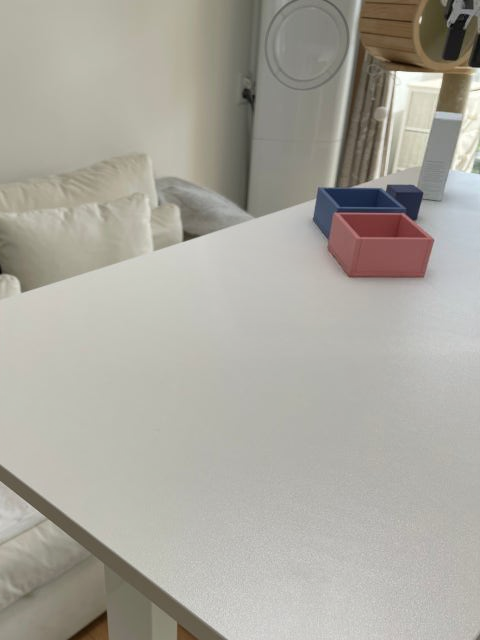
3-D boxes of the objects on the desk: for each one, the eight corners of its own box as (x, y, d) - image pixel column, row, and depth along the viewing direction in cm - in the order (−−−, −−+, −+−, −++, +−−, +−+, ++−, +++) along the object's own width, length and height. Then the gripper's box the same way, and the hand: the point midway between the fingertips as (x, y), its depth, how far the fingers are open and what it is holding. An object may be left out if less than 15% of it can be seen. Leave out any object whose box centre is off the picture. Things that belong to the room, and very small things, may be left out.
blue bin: (374, 220, 95) (381, 187, 92) (398, 243, 87) (406, 208, 84) (312, 219, 94) (318, 187, 92) (330, 243, 86) (337, 208, 84)
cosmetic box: (415, 188, 109) (435, 110, 102) (442, 192, 108) (464, 113, 101) (413, 198, 105) (433, 117, 98) (441, 201, 103) (463, 120, 96)
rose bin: (395, 248, 85) (404, 213, 83) (424, 277, 77) (434, 239, 75) (327, 247, 85) (333, 212, 82) (348, 276, 77) (356, 238, 74)
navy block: (406, 211, 98) (413, 184, 96) (416, 220, 95) (423, 192, 93) (381, 211, 98) (387, 184, 96) (390, 220, 95) (396, 192, 93)
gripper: (568, -93, 72) (515, 72, 81) (506, -85, 84) (466, 59, 93) (503, -98, 71) (457, 69, 81) (450, -89, 83) (415, 56, 92)
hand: (462, 63), depth 87 cm, fingers open, 8 cm apart
